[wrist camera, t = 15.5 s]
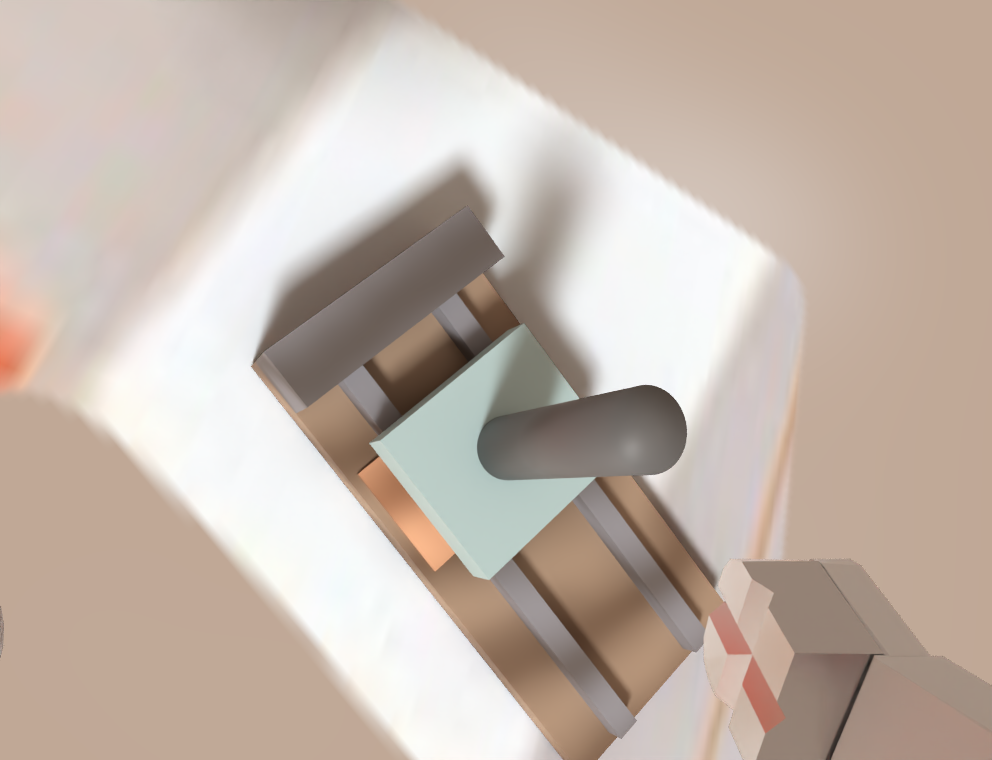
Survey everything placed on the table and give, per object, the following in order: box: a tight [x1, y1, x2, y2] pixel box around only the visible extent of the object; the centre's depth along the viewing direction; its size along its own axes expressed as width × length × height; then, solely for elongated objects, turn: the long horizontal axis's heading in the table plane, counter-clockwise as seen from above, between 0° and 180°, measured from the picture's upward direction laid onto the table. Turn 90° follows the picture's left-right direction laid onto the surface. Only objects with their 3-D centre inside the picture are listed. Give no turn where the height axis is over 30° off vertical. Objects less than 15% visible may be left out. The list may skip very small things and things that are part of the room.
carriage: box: [369, 323, 687, 580], centre depth 35 cm, size 8×9×14 cm
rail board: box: [251, 205, 723, 760], centre depth 42 cm, size 26×12×4 cm, turn 39°
